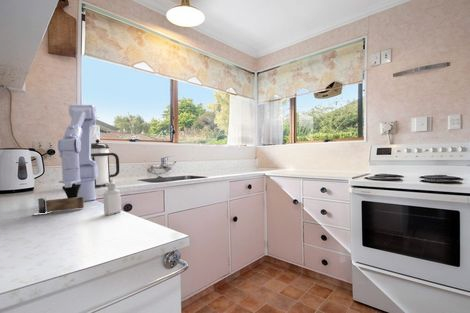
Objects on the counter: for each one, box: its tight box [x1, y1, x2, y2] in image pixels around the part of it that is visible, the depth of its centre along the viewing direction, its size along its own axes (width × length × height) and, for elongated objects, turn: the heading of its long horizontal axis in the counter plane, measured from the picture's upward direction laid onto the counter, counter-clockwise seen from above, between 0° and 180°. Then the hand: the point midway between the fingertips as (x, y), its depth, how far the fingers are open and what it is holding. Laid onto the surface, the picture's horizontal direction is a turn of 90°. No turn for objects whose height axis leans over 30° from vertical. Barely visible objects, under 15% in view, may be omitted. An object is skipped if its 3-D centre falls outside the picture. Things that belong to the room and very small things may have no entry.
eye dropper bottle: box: [102, 178, 122, 216], centre depth 85 cm, size 4×6×12 cm
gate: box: [45, 197, 85, 212], centre depth 91 cm, size 12×2×4 cm, turn 115°
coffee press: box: [91, 138, 120, 189], centre depth 155 cm, size 17×16×30 cm
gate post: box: [37, 197, 46, 213], centre depth 88 cm, size 5×5×6 cm
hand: (72, 203), depth 95 cm, fingers closed
